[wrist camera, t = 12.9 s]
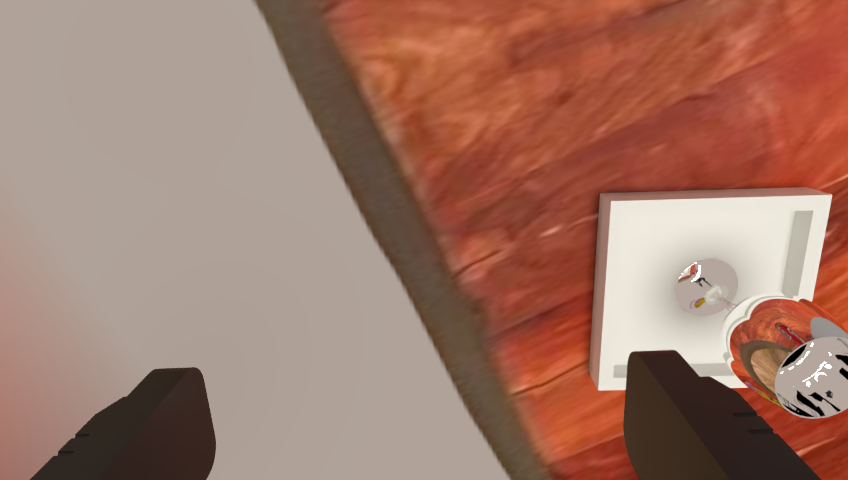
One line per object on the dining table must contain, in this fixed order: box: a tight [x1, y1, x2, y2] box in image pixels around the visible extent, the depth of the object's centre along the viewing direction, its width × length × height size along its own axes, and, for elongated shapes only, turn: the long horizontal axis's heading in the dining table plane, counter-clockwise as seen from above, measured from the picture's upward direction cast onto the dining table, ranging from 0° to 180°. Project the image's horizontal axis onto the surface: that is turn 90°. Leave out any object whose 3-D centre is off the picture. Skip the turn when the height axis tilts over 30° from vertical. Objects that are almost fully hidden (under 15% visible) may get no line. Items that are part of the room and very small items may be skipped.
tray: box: [589, 187, 832, 390], centre depth 38 cm, size 14×14×2 cm
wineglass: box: [674, 258, 848, 419], centre depth 32 cm, size 6×6×12 cm
